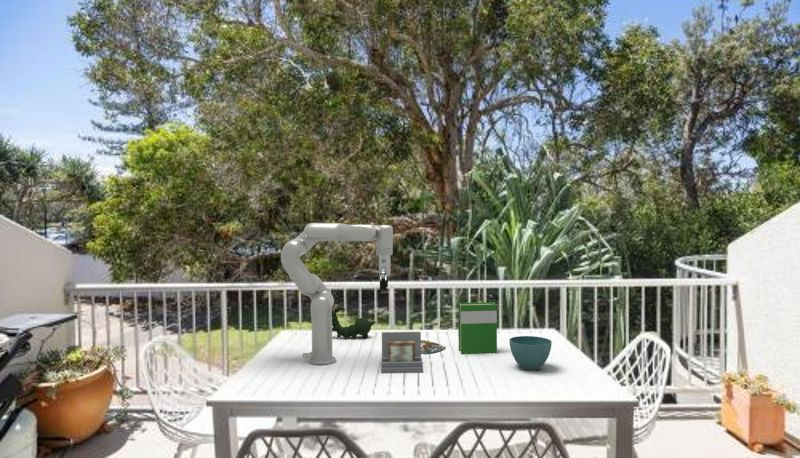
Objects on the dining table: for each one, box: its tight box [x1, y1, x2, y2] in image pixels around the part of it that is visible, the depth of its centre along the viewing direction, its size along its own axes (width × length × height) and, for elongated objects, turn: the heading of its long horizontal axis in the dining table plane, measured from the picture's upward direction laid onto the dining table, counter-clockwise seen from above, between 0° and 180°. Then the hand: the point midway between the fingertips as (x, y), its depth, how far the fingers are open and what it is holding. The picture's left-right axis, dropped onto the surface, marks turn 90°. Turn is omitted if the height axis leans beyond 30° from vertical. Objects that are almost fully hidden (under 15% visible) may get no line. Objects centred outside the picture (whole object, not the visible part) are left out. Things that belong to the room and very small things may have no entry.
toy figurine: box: [331, 306, 377, 340], centre depth 306 cm, size 9×19×25 cm
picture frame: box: [388, 341, 415, 362], centre depth 244 cm, size 12×4×10 cm, turn 90°
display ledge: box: [380, 331, 424, 374], centre depth 247 cm, size 18×18×14 cm
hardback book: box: [457, 301, 498, 355], centre depth 273 cm, size 18×7×24 cm, turn 94°
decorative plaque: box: [421, 339, 446, 355], centre depth 283 cm, size 30×3×30 cm
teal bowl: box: [508, 335, 553, 371], centre depth 244 cm, size 18×18×12 cm
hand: (383, 288), depth 257 cm, fingers open, 9 cm apart
